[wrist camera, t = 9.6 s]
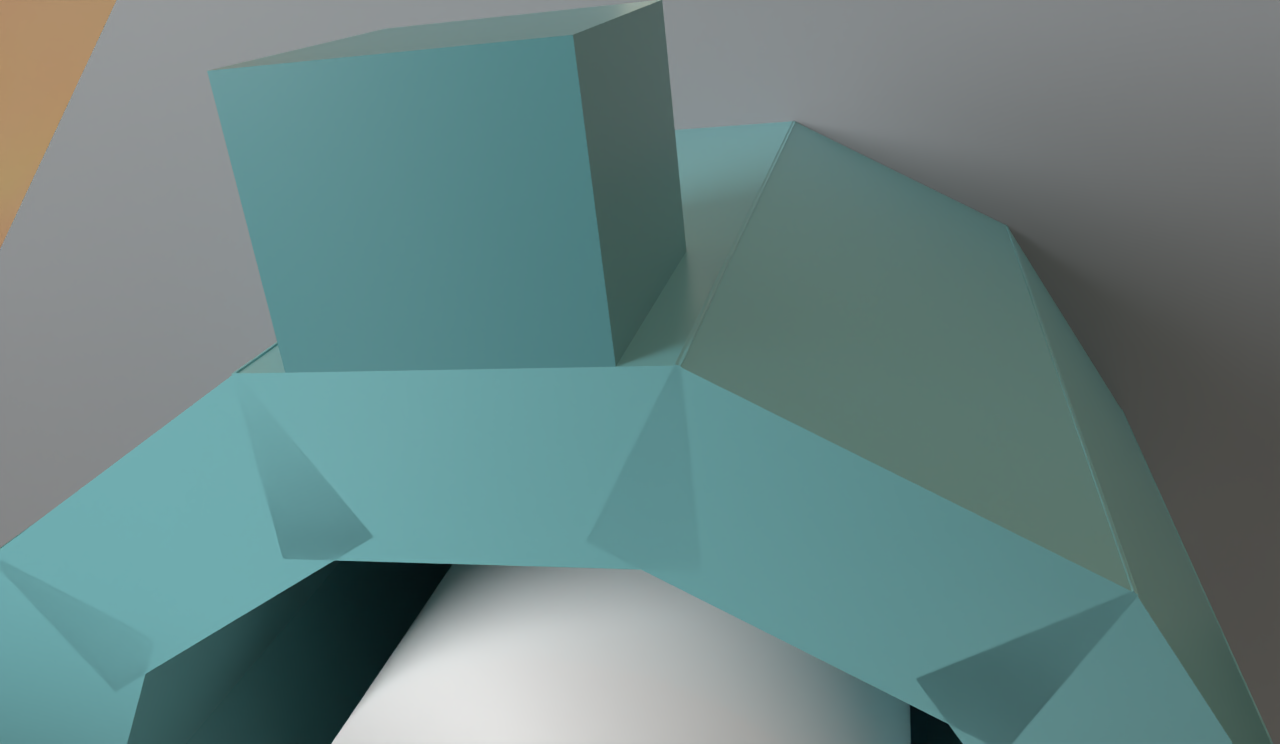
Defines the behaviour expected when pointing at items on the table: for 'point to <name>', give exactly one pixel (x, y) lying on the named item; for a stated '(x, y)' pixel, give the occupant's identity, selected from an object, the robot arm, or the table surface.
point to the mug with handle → (612, 417)
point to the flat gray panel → (701, 98)
